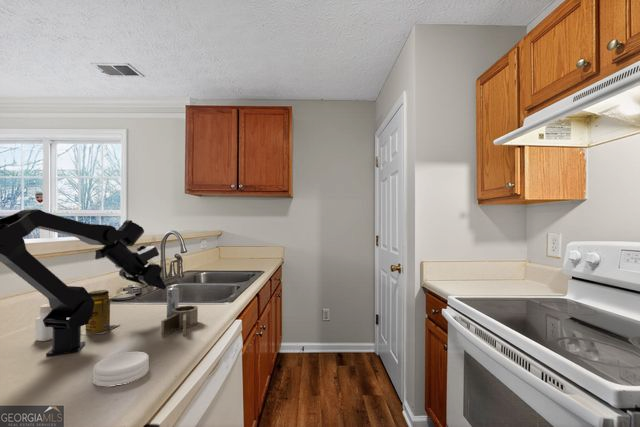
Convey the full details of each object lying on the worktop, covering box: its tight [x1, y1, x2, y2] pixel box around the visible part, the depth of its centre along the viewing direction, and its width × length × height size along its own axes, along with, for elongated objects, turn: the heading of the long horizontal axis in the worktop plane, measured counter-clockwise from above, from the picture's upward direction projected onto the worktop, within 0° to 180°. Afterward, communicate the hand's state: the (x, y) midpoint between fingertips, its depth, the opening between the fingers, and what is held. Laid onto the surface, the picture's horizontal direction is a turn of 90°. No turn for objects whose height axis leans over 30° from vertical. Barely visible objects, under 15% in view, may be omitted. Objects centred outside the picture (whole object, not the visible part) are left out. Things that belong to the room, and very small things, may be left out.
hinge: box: [160, 304, 199, 338], centre depth 96 cm, size 15×10×5 cm, turn 23°
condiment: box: [81, 289, 121, 336], centre depth 95 cm, size 7×8×12 cm
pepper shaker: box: [34, 303, 53, 342], centre depth 88 cm, size 4×4×10 cm
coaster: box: [92, 351, 150, 387], centre depth 66 cm, size 10×10×4 cm
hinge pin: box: [166, 287, 179, 319], centre depth 108 cm, size 4×4×10 cm
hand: (158, 286), depth 104 cm, fingers open, 9 cm apart
